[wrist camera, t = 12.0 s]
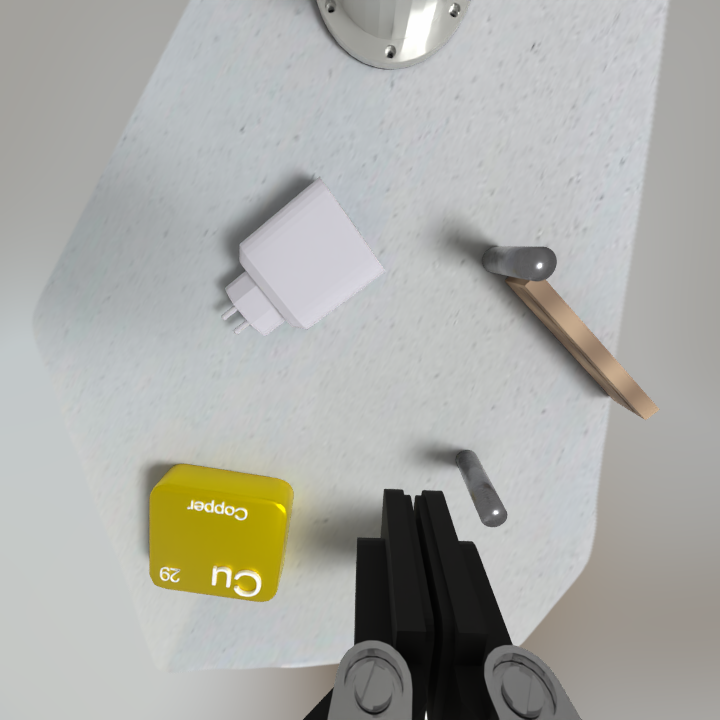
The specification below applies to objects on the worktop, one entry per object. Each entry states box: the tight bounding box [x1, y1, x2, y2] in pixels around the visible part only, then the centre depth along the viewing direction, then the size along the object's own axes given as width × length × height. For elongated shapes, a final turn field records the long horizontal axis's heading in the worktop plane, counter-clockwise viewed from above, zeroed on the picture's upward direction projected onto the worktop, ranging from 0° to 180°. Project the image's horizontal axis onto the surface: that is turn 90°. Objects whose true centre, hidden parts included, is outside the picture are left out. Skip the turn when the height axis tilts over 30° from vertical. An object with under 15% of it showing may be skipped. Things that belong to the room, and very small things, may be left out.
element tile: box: [150, 464, 294, 602], centre depth 42 cm, size 15×15×5 cm
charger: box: [221, 177, 385, 336], centre depth 33 cm, size 5×9×15 cm
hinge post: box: [483, 247, 557, 282], centre depth 30 cm, size 2×2×9 cm
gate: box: [505, 276, 659, 420], centre depth 34 cm, size 18×2×4 cm, turn 46°
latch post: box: [456, 450, 507, 527], centre depth 36 cm, size 2×2×9 cm
